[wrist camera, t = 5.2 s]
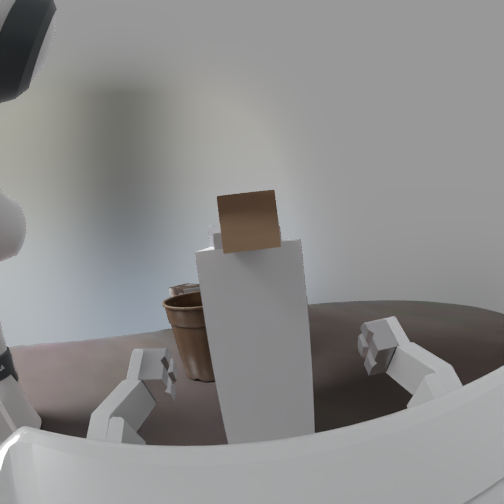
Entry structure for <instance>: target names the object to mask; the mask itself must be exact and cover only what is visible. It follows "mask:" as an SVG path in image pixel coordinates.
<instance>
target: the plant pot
mask: <svg viewBox="0 0 504 504" xmlns="http://www.w3.org/2000/svg"><path fill="white" fill-rule="evenodd" d="M162 304H163V307H165V309H166V313H167V317H168V320H169V323H170V324H171V326H172V329H173V333H174V336H175V340H176V343H177V347H178V350H179V354H180V357H181V360H182V364H183V367H184V371H185V374H186V375H187V376H188V377H189V378H190V379H193V380H196V379H199V380H201V381H203V382H209V381H215V377H214V371H213V366H212V360H211V354H210V349H209V343H208V337H207V331H206V325H205V318H204V312H203V305H202V299H201V292H200V291H196V292H190V293H185V294H181V295H177V296H173V297H170V298H168V299H166V300H164V301H163V302H162Z"/></svg>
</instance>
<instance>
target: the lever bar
mask: <svg viewBox="0 0 504 504" xmlns="http://www.w3.org/2000/svg"><path fill="white" fill-rule="evenodd" d="M217 202H218V211H219V220H220V228H221V237H222V245H223V253H224V254H226V253H234V252H243V251H251V250H259V249H268V248H276V247H281V242H280V233H279V225H278V216H277V209H276V200H275V192H274V190H268V191H259V192H249V193H240V194H232V195H224V196H217Z"/></svg>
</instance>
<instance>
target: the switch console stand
mask: <svg viewBox="0 0 504 504" xmlns="http://www.w3.org/2000/svg"><path fill="white" fill-rule="evenodd" d="M278 225H279V222H278ZM208 233H209V242H210V247H209V248H206V249H203V250H200V251H197V252H195V254H196V262H197V270H198V277H199V285H200V292H201V299H202V305H203V312H204V318H205V325H206V331H207V337H208V343H209V349H210V354H211V360H212V366H213V371H214V377H215V382H216V387H217V392H218V398H219V403H220V408H221V412H222V417H223V422H224V427H225V431H226V436H227V440H228V444H241V443H252V442H261V441H269V440H277V439H284V438H291V437H297V436H303V435H308V434H314V433H315V426H314V400H313V379H312V362H311V346H310V328H309V315H308V303H307V296H306V285H305V275H304V265H303V255H302V246H301V239H281V232H280V226H279V233H280V242H281V247H276V248H268V249H259V250H251V251H243V252H234V253H226V254H224V253H223V245H222V237H221V228H220V225H212V226H208Z"/></svg>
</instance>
